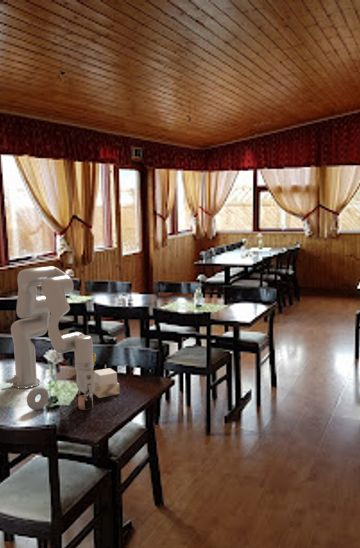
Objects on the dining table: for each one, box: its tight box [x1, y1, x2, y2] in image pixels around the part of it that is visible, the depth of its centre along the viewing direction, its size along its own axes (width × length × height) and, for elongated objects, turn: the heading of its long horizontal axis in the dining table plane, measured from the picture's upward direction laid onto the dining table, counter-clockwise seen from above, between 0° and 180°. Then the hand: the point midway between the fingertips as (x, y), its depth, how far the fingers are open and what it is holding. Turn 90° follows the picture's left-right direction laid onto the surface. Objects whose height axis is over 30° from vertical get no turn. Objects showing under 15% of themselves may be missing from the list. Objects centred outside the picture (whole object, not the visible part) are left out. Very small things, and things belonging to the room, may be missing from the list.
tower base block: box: [93, 381, 121, 399], centre depth 250 cm, size 10×10×5 cm
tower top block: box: [93, 367, 118, 387], centre depth 250 cm, size 8×8×5 cm
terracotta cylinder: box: [77, 394, 94, 411], centre depth 233 cm, size 6×6×4 cm
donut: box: [26, 385, 50, 411], centre depth 230 cm, size 10×4×10 cm, turn 135°
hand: (85, 405), depth 233 cm, fingers closed on terracotta cylinder, 6 cm apart
